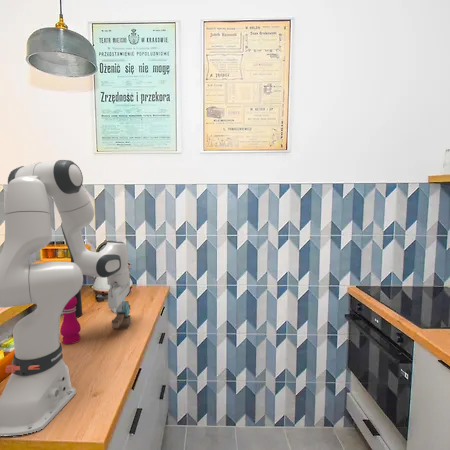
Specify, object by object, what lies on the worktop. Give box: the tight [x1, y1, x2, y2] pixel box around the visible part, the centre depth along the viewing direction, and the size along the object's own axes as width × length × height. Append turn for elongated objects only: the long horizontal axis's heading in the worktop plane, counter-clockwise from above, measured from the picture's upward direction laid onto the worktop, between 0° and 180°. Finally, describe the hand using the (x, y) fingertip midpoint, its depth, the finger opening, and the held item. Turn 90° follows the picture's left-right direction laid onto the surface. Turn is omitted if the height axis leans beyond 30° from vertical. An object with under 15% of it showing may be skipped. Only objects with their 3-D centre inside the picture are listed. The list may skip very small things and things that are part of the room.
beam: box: [111, 300, 132, 330], centre depth 136 cm, size 20×6×8 cm, turn 3°
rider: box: [115, 302, 131, 317], centre depth 138 cm, size 4×5×5 cm
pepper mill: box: [59, 296, 82, 345], centre depth 124 cm, size 7×7×20 cm
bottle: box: [75, 288, 83, 319], centre depth 148 cm, size 7×7×20 cm
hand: (120, 310), depth 135 cm, fingers closed
